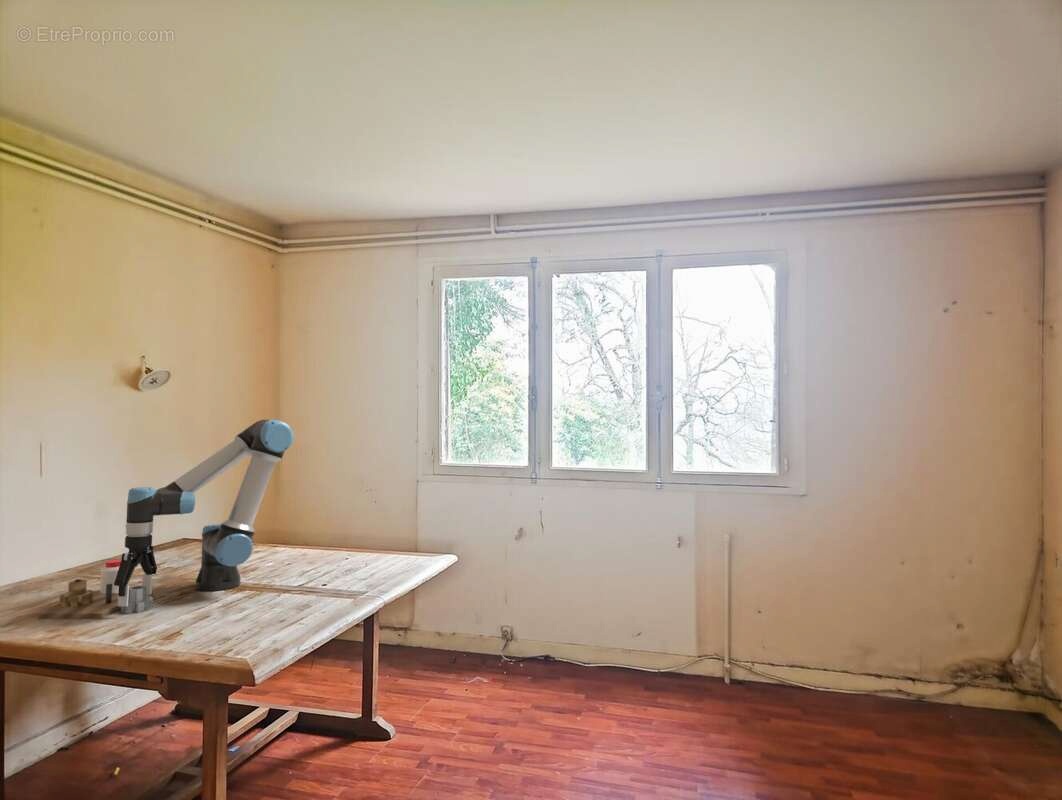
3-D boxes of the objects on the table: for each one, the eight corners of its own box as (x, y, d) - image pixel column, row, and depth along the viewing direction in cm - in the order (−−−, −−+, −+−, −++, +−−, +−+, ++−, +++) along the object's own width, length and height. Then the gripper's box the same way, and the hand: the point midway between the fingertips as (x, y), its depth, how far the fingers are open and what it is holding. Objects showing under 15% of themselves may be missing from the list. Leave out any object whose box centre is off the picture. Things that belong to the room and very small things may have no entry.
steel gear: (157, 605, 206) (158, 584, 206) (142, 613, 197) (143, 591, 197) (130, 605, 205) (131, 584, 205) (114, 613, 196) (115, 591, 197)
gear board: (141, 597, 214) (142, 571, 214) (101, 618, 192) (102, 588, 192) (84, 597, 212) (85, 571, 213) (37, 618, 190) (38, 588, 191)
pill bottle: (96, 595, 215) (97, 564, 215) (105, 589, 222) (106, 559, 223) (121, 594, 217) (122, 563, 217) (129, 588, 224) (130, 558, 225)
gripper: (148, 528, 214) (144, 589, 213) (103, 541, 189) (99, 611, 188) (170, 528, 214) (166, 589, 214) (128, 542, 190) (124, 611, 189)
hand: (135, 600), depth 201 cm, fingers open, 13 cm apart
